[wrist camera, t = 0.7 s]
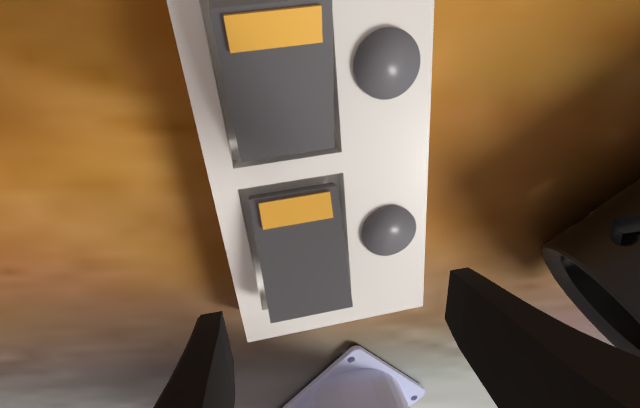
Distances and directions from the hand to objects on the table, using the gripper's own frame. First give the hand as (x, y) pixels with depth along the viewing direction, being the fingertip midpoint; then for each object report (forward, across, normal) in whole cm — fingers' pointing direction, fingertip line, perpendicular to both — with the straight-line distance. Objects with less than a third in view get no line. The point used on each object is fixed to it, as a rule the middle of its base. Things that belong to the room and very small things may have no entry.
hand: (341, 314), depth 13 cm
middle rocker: (+7, +1, -6) cm, 9 cm away
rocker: (+7, 0, +2) cm, 7 cm away
